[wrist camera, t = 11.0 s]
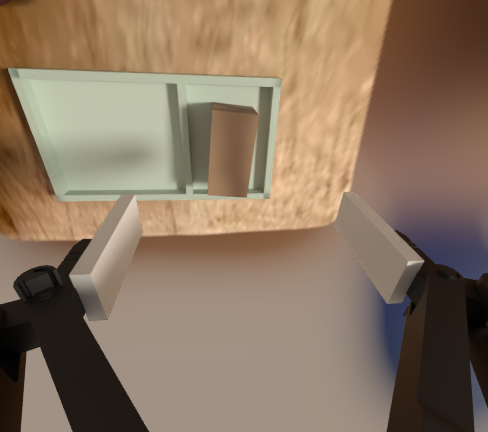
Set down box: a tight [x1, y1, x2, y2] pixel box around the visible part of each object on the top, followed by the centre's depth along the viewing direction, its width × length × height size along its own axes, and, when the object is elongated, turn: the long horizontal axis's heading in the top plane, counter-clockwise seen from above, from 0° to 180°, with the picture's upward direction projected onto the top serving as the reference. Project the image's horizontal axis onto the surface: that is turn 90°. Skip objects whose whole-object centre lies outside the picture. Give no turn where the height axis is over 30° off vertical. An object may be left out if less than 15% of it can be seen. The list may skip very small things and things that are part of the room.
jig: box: [7, 67, 282, 201], centre depth 30 cm, size 14×26×2 cm, turn 88°
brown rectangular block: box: [207, 102, 259, 198], centre depth 29 cm, size 4×9×5 cm, turn 173°
